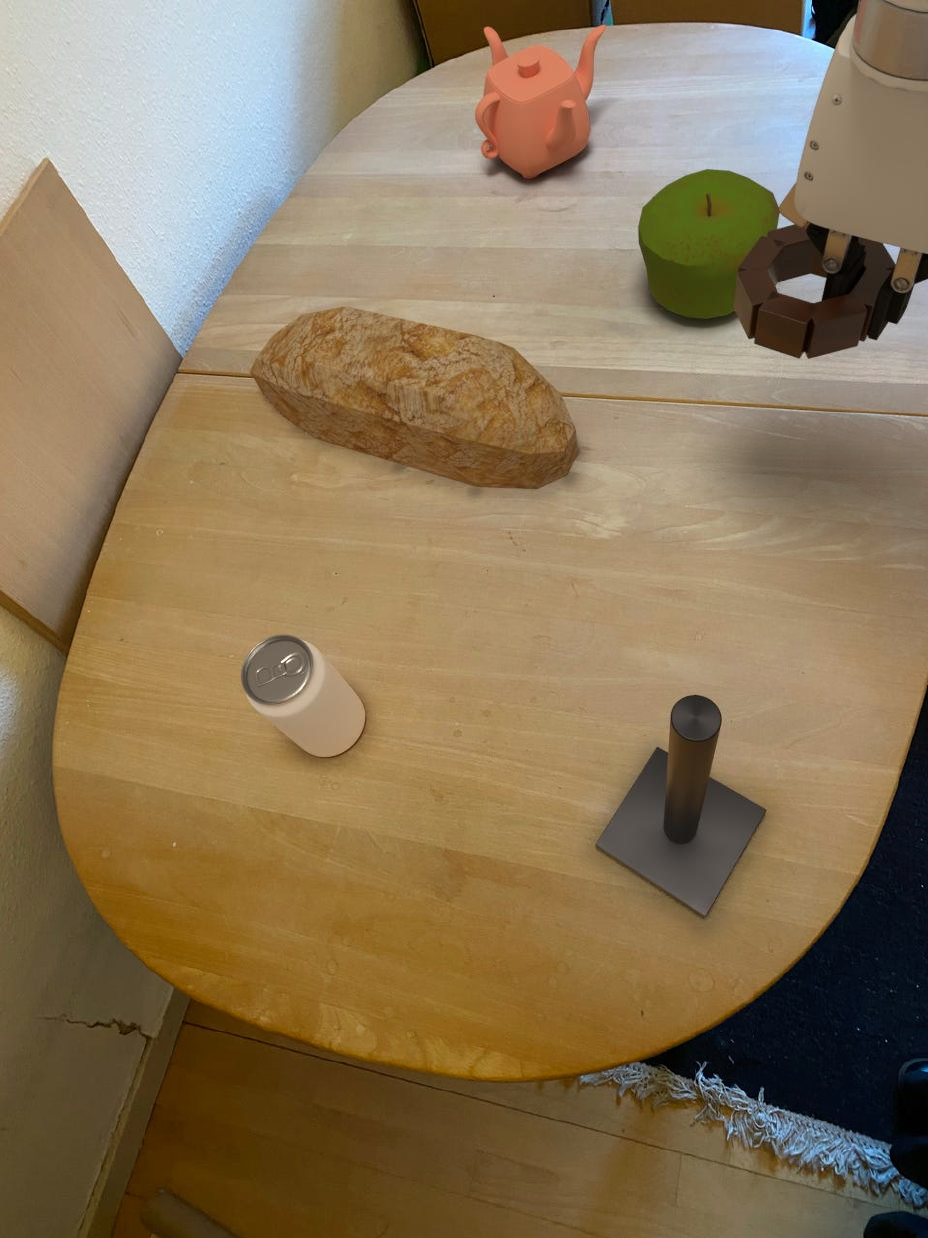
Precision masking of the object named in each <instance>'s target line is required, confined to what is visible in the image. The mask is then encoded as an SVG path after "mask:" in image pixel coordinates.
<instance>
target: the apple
mask: <svg viewBox="0 0 928 1238" xmlns="http://www.w3.org/2000/svg"><path fill="white" fill-rule="evenodd" d="M779 206H780V205H779V204H778V202H777V200H776V197H775V194H774V192H772V191H771V190H769V189H767V188H766V187H765V186H763V185H761V184H760V183H758V182H757V181H754V180H753V179H751V178H750V177H748V176H745V175H743V174H739V173H737V172H734V171H732V170H728V169H727V170H725V169H711V168H706V169H703V170H699V171H696V172H693V173H688V174H685V175H683V176H682V177H680V178H678V179H676V180H674V181H672V182H670V183H668V184H666V185H665V186H664V187H663V188H662V189H660V190H659V191H658V192H657V193H656V194H655V195H654V196H653V197H652V198H651V199H650V200H649V201H647V203H646V204H645V205H644V206H642V208H641V212H640V217H639V221H638V226H637V231H638V233H637V234H638V245H639V248H640V249H639V250H640V252H641V255H642V259H643V261H644V262H643V263H644V265H645V270H646V276H647V284H648V288H649V291H650V293H651V295H652V297H653V298H654V301H655V302H657V303H658V304H659V305H661V306H662V307H664V308H665V309H666V310H667V311H669V312H672V313H675V314H676V315H679V316H682V317H685V318H693V319H706V320H707V319H713V318H718V317H719V318H720V317H723V316H724V317H725V316H728V315H730V314H732V313H734V312H736V311H735V309H734V301H735V292H736V282H737V273H738V267H739V265H740V264H741V263H742V261H743V260H744V259H745V257H746V256H747V254H748V253H749V252H750V250H751V249H752V248H753V246H754V245H755V244H756V242H757V241H758V240H759V238H760V237H761V236H765V237H767V233H768V231H772V230H775V229H778V225H779V219H780V215H781V214H780V212H779Z"/></svg>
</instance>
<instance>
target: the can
mask: <svg viewBox="0 0 928 1238" xmlns="http://www.w3.org/2000/svg"><path fill="white" fill-rule="evenodd" d="M240 681H241V685H242V688H243V690H244V692H245V695H246V698H247V700H248V702H249V704H250V706H251V707H252V708H253V709H255V711H256V712H257V713H259V714H260V715H261V716H262V717H263V718H265V719H266V720H267V721H268V722H269V723H271V724H272V725H273V726H274V727H275V728H276V729H278V730H279V731H280V732H281V733H283V734H284V735H285V736H286V737H288V738H289V739H290V740H291V741H292V742H293V743H294V744H296V745H297V746H298V747H300V748H301V749H302V750H303V751H305V753H308V754H309V755H312V756H315V757H319V758H330V757H334V756H338V755H340V754H342V753H344V752H346V751H348V749H350V748H351V747H352V746H353V745H354V744H355V743H356V742H357V741H358V739H359V738H360V736H361V734H362V732H363V730H364V727H365V723H366V711H365V707H364V704H363V702H362V701H361V699H360V697H359V696H358V695H357V693H356V692H355V691H354V689H353V688H352V687H351V686H350V685H349V683H348V682H347V681H346V680H345V679H344V677H343V676H342V675H341V674H340V673H339V672H338V671H337V669H336V668H335V667H334V666H333V665H332V664H331V662H329V660H328V659H327V658H326V656H325V655H323V653H322V652H321V651H320V650H319V649H318V648H317V647H316V646H314V644H312V643H310V642H309V641H307V640H304V639H300V638H299V637H297V636H295V635H291V634H275V635H271V636H269V637H267V638H265V639H263V640H261V641H259V642H258V643H256V645H255V646H254V647H253V648H251V650H250V651H249V652H248V653H247V655H246V657H245V659H244V661H243V663H242V666H241V670H240Z"/></svg>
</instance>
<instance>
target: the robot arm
mask: <svg viewBox="0 0 928 1238" xmlns="http://www.w3.org/2000/svg"><path fill="white" fill-rule="evenodd" d="M831 55H832V56H831V58H830V60H829V64H828V66H827V69H826V71H825V74H824V78H823V79H822V84H821V87H820V90H819V93H818V96H817V99H816V102H815V105H814V109H813V113H812V115H811V119H810V122H809V126H808V130H807V133H806V137H805V140H804V145H803V148H802V151H801V157H800V162H799V166H798V170H797V175H796V182H795V183H794V184H793V185H792V187H791V188H790V189H789V191H788V193H787V194H786V196H785V197H784V198H783V200H782V201H781V203H780V204H779V205H778V206H779V212H780V214H779V215H781V216H782V217H784V218H785V219H786V220H788V221H789V222H791V223H792V224H795V225H797V226H798V227H799V228H801V229H803V228H804V229H805V230H806V233H807V235H808V237H809V238H810V240H811V241H812V242H813V244H814V245H815V247H816V248H817V249H818V251H819V252H820V253H821V255H822V256H823V260H822V267H823V269H824V270H825V271H826V272H828V273H827V277H826V278H825V282H824V287H823V291H822V296H821V300H820V301H823V300H827V299H831V298H834V297H838V296H842V295H846V294H849V293H850V292H851V290H852V289H853V287H854V286H855V284H856V283H857V281H858V280H859V278H860V275H861V271H862V267H863V265H864V261H865V257H866V253H867V252H866V251H864V250H865V245H861V244H859V242H860V240H861V238H865V239H869V240H873V241H877V242H880V243H883V244H884V245H889V246H892V247H896V248H899V252H898V256H897V258H896V262H895V264H896V265H895V267H894V268H893V270H892V271H891V273H890V274H889V276H888V277H887V279H886V280H885V282H884V283H883V285H882V286H881V288H880V290H879V292H878V295H877V298H876V302H875V309H874V312H873V316H872V319H871V322H870V326H869V329H868V333H867V335H868V337H867V339H870V340H873V341H878V340H879V337H880V336H881V335H882V333H883V332H884V330H885V328H886V327H887V325H888V324H889V323H890V324H894V325H899V324H898V323H899V322H900V321H901V320H902V318H903V316H904V315H905V311H906V310H907V308H908V305H909V302H910V299H911V297H912V293H913V291H914V288H915V286H916V285H918V284H919V283H922V282H925V281H926V280H927V281H928V0H858V4H857V9H856V13H855V14H854V15H853V16H852V17H851V18H850V19H849V21H848V22H847V24H846V25H845V28H844V29H843V30H842V32H841V34H840V35H839V38H838V40H837V43H836V46H835V48H834V50H833V52H832V54H831Z"/></svg>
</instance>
